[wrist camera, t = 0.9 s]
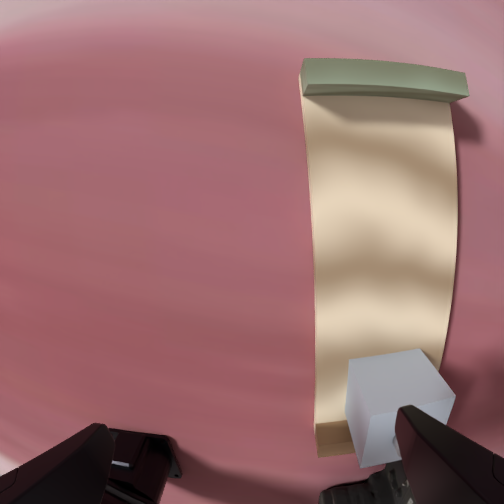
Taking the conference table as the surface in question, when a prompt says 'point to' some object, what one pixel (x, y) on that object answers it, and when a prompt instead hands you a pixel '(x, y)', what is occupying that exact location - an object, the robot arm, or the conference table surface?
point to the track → (377, 218)
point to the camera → (374, 489)
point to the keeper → (390, 400)
